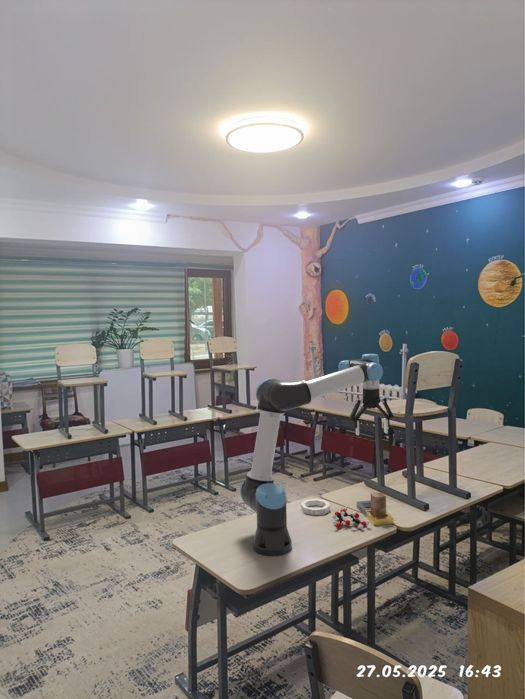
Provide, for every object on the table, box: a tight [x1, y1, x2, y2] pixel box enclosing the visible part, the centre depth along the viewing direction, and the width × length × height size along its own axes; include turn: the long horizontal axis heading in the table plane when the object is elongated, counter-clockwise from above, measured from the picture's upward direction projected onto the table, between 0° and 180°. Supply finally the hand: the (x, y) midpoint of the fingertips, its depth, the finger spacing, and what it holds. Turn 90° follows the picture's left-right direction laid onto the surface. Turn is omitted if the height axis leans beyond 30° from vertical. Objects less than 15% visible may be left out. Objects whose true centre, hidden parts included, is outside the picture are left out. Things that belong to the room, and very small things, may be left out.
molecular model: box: [332, 506, 370, 530], centre depth 210 cm, size 10×12×15 cm
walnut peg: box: [370, 492, 387, 517], centre depth 214 cm, size 5×5×11 cm
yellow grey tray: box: [356, 499, 395, 526], centre depth 219 cm, size 9×21×3 cm, turn 9°
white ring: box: [300, 498, 331, 516], centre depth 227 cm, size 12×12×2 cm
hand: (371, 434), depth 224 cm, fingers open, 13 cm apart
